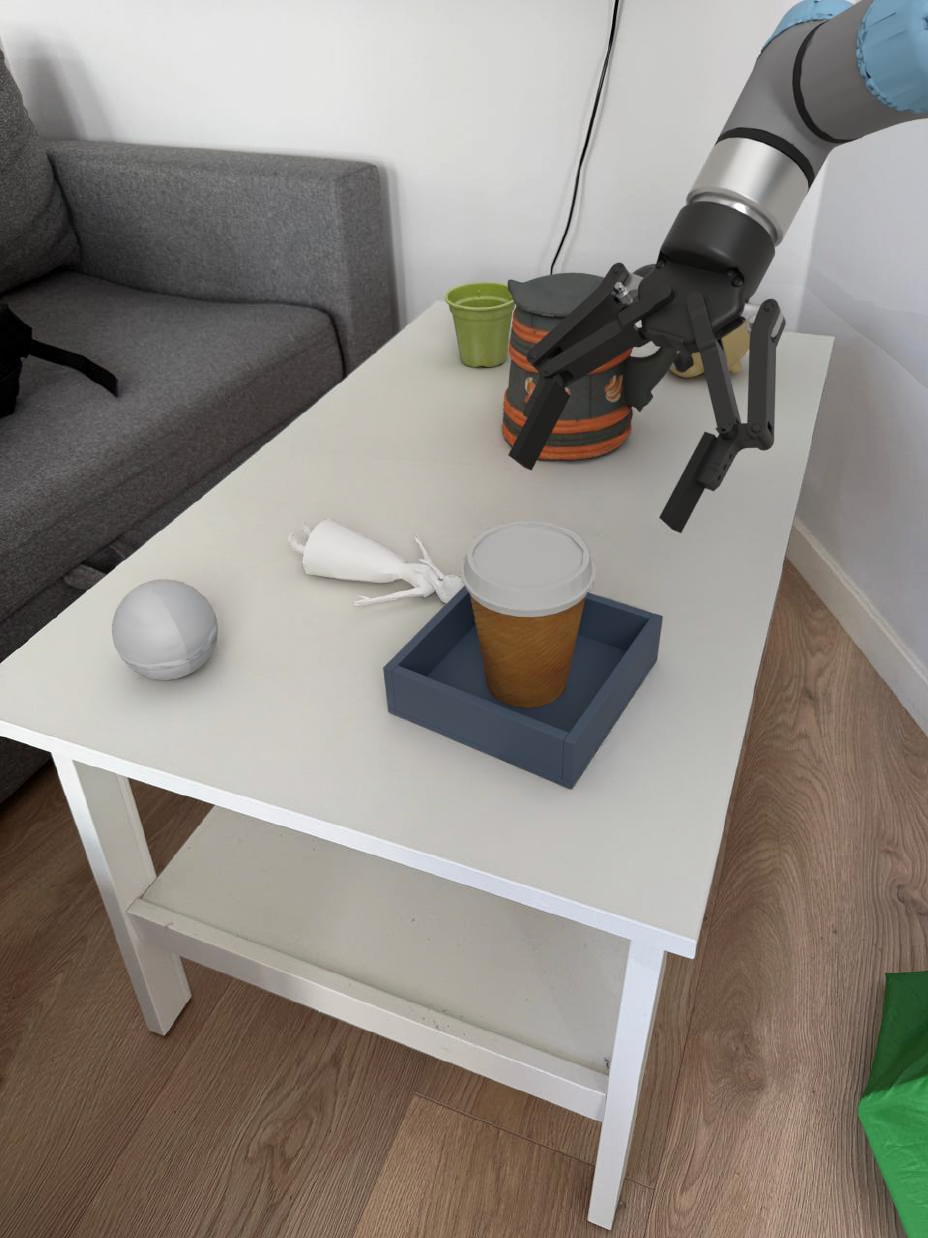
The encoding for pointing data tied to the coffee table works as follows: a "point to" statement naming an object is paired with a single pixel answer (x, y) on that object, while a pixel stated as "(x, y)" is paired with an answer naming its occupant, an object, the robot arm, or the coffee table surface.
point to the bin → (525, 737)
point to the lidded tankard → (595, 399)
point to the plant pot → (481, 321)
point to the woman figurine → (370, 563)
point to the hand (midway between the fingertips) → (590, 493)
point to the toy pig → (734, 349)
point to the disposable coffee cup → (527, 607)
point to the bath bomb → (164, 629)
